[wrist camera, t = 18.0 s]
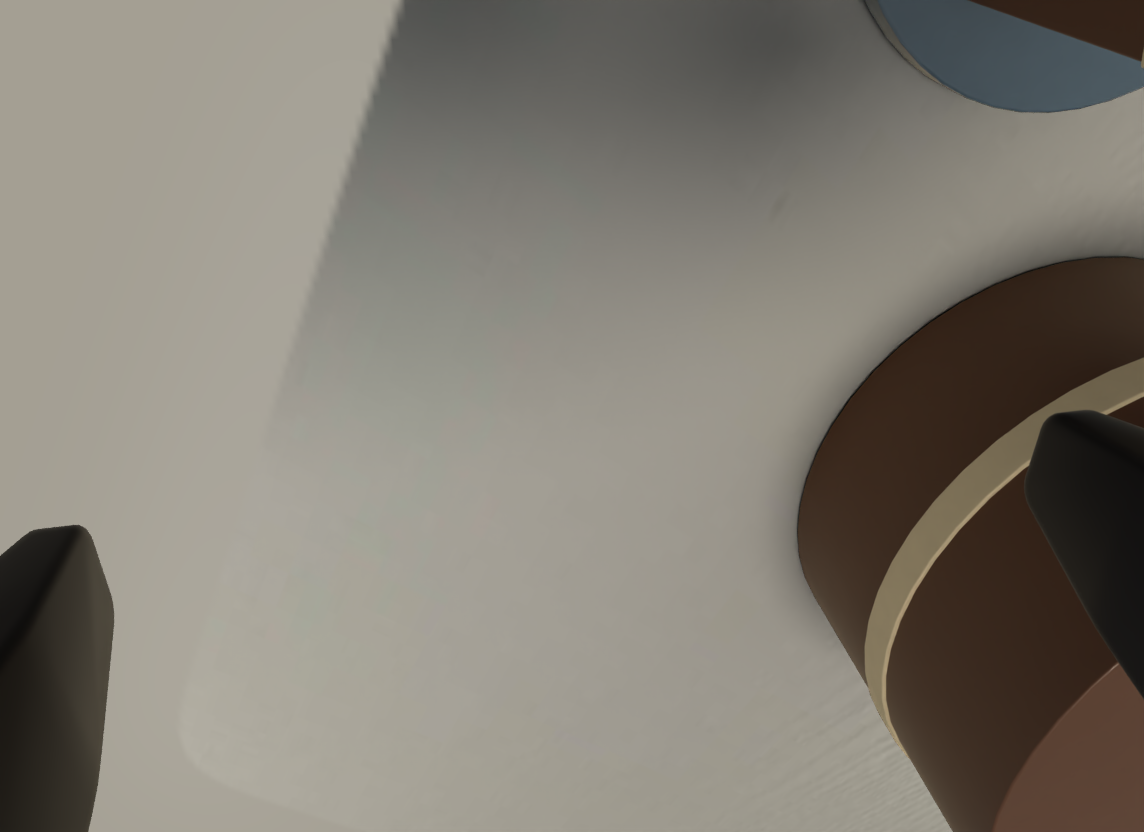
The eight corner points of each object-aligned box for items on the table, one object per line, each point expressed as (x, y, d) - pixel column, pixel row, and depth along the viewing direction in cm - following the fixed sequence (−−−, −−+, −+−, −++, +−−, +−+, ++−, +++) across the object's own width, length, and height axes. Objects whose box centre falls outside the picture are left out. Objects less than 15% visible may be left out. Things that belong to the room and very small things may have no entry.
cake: (766, 681, 31) (920, 1001, 23) (834, 275, 24) (1101, 539, 16) (1155, 619, 34) (1417, 888, 26) (1331, 233, 26) (1787, 442, 18)
